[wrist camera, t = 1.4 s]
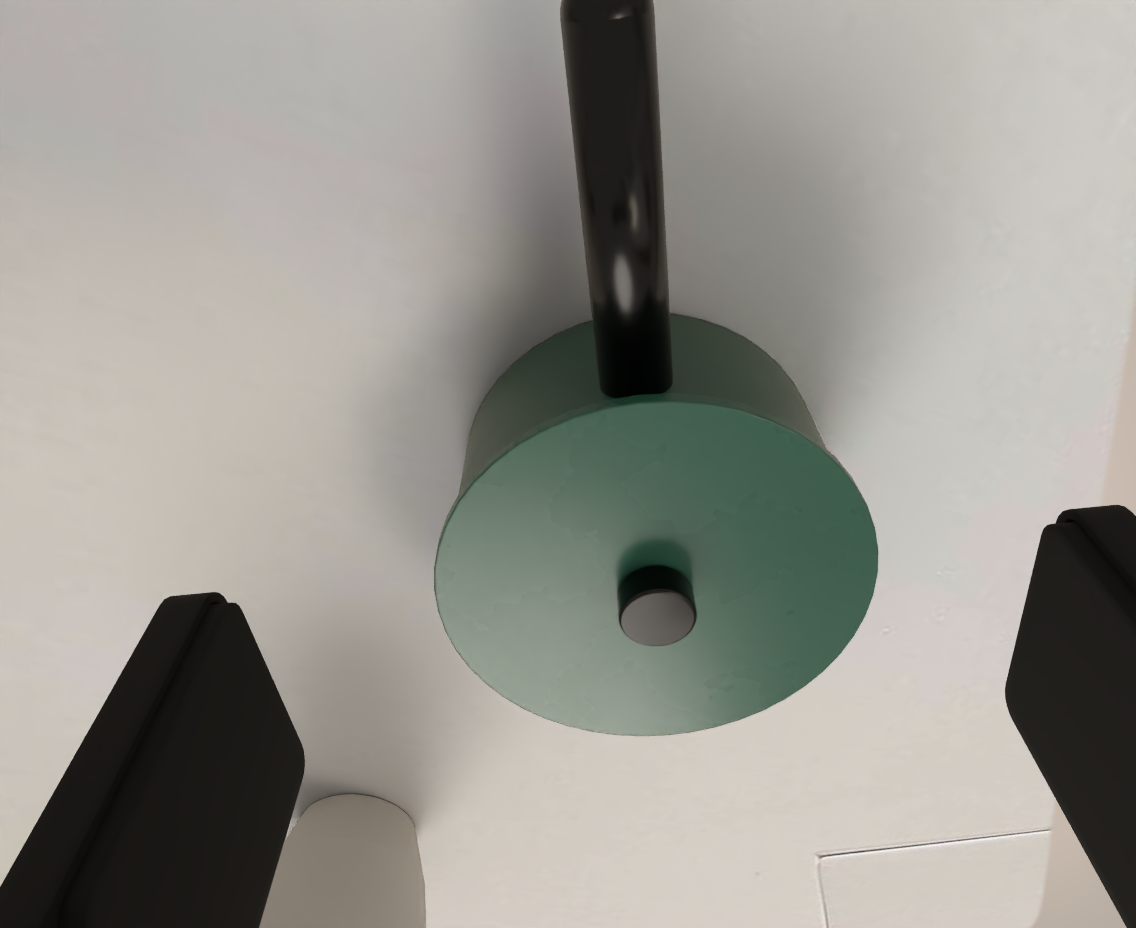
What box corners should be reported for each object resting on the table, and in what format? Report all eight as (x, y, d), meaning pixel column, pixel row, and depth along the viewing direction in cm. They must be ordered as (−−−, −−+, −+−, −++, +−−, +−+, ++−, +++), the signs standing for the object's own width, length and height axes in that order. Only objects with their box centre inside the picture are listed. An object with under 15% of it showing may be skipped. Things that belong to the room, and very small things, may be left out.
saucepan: (489, 620, 31) (472, 778, 25) (343, -19, 20) (258, 16, 14) (815, 592, 30) (871, 749, 25) (857, -87, 19) (978, -78, 13)
